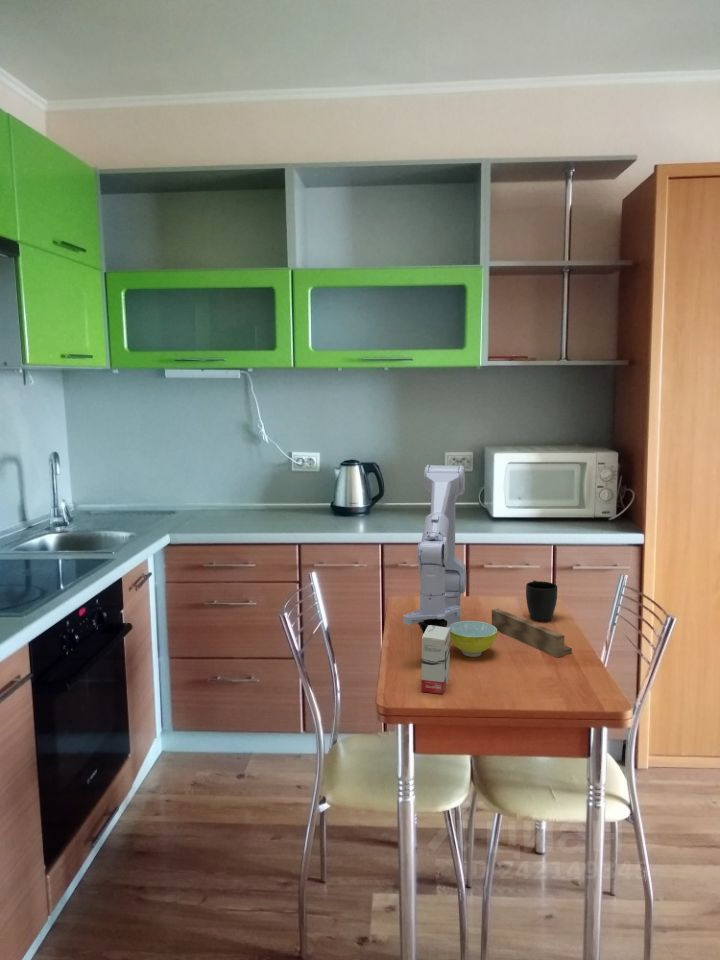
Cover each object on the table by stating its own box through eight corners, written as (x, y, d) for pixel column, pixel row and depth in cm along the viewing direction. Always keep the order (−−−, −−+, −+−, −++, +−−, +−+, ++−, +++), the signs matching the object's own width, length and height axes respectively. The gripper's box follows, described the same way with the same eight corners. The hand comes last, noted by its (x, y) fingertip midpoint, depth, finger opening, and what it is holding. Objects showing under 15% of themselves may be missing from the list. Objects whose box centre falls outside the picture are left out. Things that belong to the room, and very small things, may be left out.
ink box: (444, 694, 142) (444, 639, 141) (420, 692, 144) (420, 637, 142) (450, 678, 150) (450, 625, 149) (427, 676, 152) (427, 624, 150)
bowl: (486, 666, 157) (486, 639, 157) (440, 656, 163) (440, 631, 163) (503, 650, 167) (504, 625, 166) (459, 642, 173) (459, 617, 172)
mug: (549, 610, 198) (550, 577, 197) (559, 624, 186) (560, 589, 185) (520, 610, 198) (521, 577, 197) (528, 623, 186) (529, 589, 185)
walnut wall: (491, 628, 183) (491, 609, 182) (506, 625, 185) (506, 606, 185) (557, 657, 162) (557, 636, 161) (573, 653, 164) (573, 633, 164)
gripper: (415, 601, 151) (415, 661, 153) (469, 592, 158) (468, 649, 159) (398, 593, 157) (398, 651, 159) (450, 585, 164) (450, 640, 165)
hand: (432, 650), depth 159 cm, fingers closed
